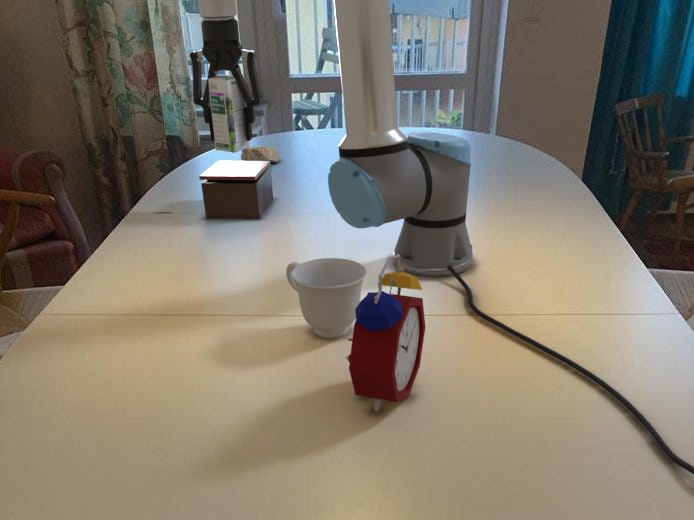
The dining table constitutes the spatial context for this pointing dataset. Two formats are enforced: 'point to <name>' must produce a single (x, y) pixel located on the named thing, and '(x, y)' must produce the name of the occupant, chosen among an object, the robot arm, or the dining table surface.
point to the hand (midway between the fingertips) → (231, 139)
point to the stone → (260, 154)
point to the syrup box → (227, 114)
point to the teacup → (328, 293)
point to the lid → (235, 170)
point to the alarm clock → (387, 339)
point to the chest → (237, 197)
